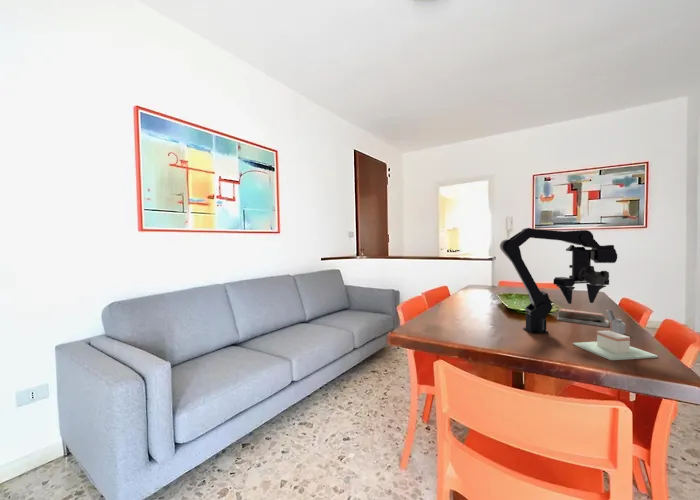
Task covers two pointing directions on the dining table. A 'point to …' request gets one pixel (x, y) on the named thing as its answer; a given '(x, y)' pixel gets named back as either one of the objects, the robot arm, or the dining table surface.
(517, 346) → the dining table surface
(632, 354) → the mat
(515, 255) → the robot arm
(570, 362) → the dining table surface
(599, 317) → the packaged product
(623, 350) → the white box
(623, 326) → the lighter
